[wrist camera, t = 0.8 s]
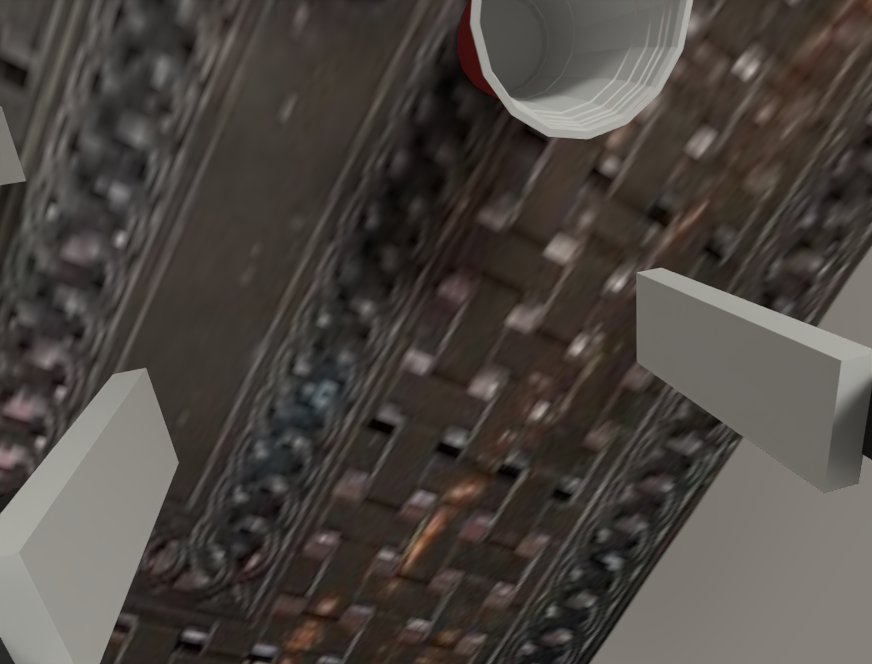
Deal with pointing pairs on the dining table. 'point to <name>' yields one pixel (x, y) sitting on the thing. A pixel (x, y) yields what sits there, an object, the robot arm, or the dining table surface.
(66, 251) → the dining table surface
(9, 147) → the plug
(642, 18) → the plastic cup
